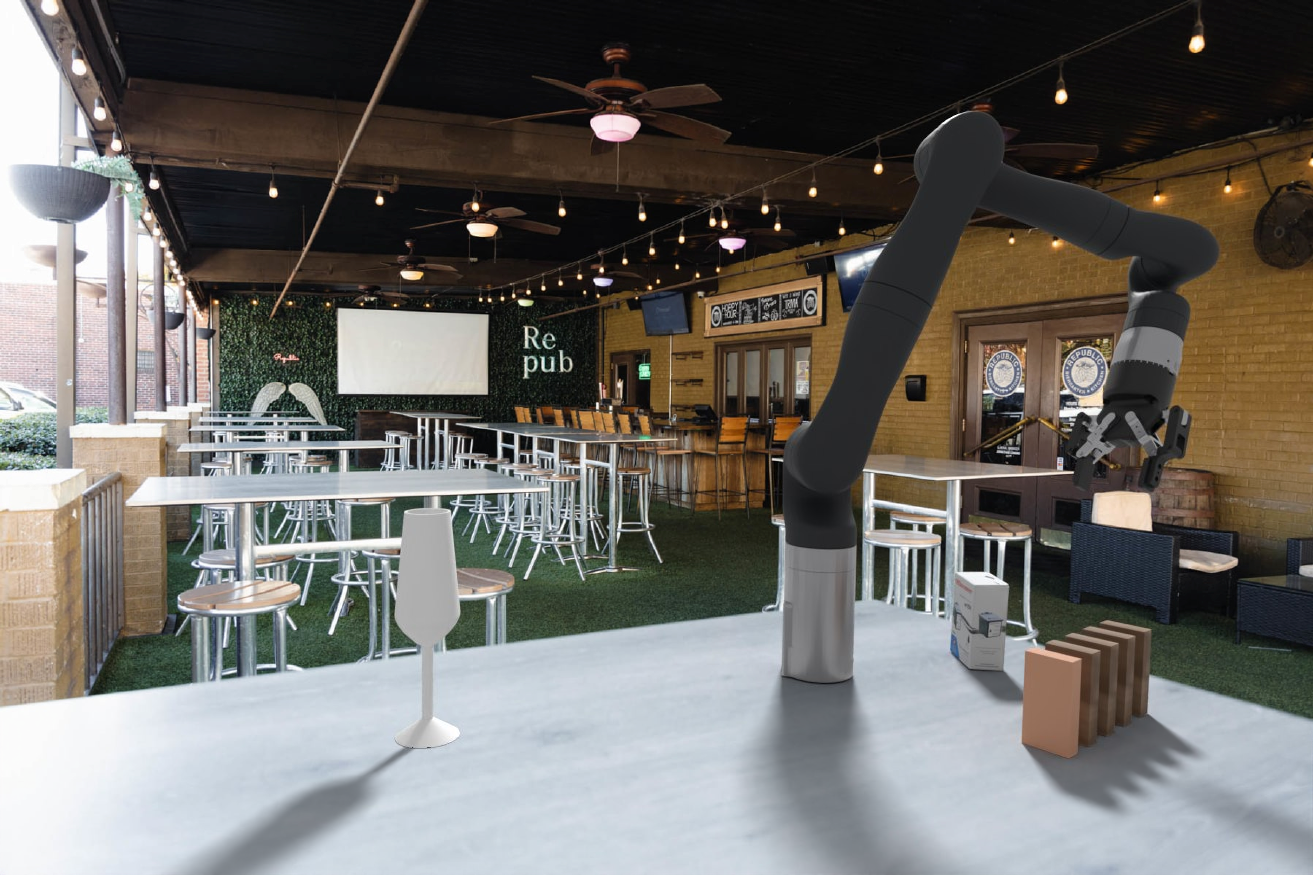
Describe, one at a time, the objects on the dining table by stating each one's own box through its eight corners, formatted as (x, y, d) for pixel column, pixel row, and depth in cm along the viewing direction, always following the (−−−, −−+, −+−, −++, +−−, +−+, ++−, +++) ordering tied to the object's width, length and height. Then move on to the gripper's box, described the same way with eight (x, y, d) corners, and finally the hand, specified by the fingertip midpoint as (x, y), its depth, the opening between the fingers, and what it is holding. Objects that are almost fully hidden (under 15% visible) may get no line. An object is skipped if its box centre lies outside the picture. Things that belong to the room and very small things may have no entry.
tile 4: (1050, 727, 96) (1053, 639, 95) (1096, 742, 92) (1100, 650, 91) (1041, 732, 95) (1045, 642, 94) (1088, 746, 91) (1092, 653, 90)
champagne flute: (428, 718, 96) (428, 505, 94) (473, 731, 92) (473, 510, 91) (380, 738, 90) (380, 512, 89) (427, 753, 87) (426, 518, 85)
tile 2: (1086, 709, 102) (1090, 626, 101) (1131, 722, 98) (1135, 635, 97) (1078, 713, 100) (1082, 629, 100) (1124, 726, 96) (1128, 639, 96)
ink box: (949, 651, 124) (951, 570, 123) (984, 651, 124) (987, 571, 123) (969, 670, 115) (972, 584, 115) (1007, 671, 115) (1010, 584, 114)
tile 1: (1103, 701, 104) (1106, 620, 104) (1147, 713, 101) (1151, 629, 100) (1095, 704, 103) (1099, 622, 103) (1140, 717, 99) (1144, 632, 99)
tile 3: (1069, 718, 99) (1072, 632, 98) (1114, 732, 95) (1118, 643, 94) (1060, 722, 97) (1064, 635, 97) (1106, 736, 94) (1111, 646, 93)
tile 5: (1030, 737, 93) (1034, 647, 92) (1077, 753, 89) (1081, 658, 88) (1021, 742, 92) (1025, 650, 91) (1068, 758, 88) (1072, 662, 87)
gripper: (1074, 364, 113) (1042, 476, 110) (1182, 350, 100) (1149, 477, 97) (1109, 389, 116) (1079, 500, 112) (1218, 379, 103) (1188, 503, 100)
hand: (1111, 489), depth 105 cm, fingers open, 8 cm apart
